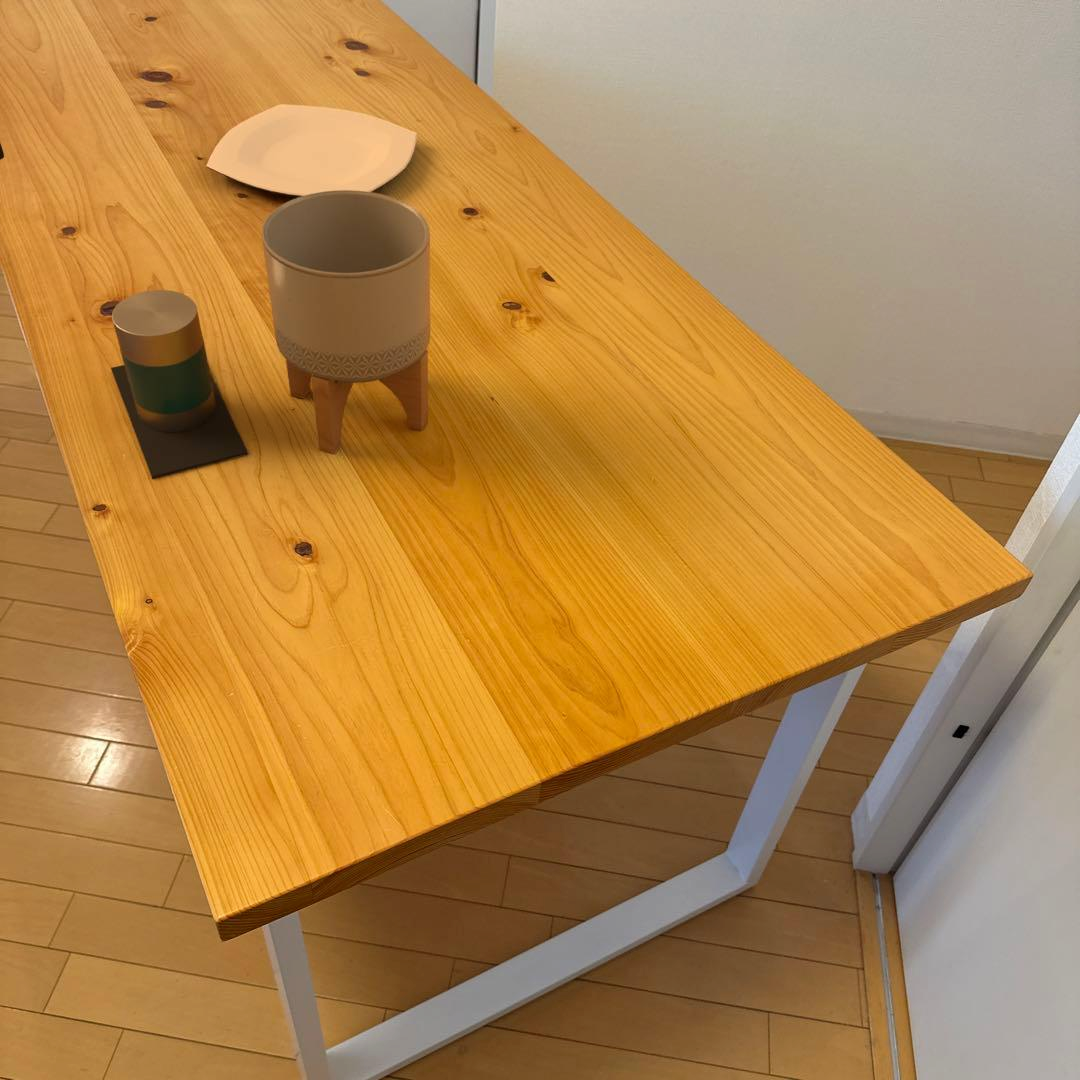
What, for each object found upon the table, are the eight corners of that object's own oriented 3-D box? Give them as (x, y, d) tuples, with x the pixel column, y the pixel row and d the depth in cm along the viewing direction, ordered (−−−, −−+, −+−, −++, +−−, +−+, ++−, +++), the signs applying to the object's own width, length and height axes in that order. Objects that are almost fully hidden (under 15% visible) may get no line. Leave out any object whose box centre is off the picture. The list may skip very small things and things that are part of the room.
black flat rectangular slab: (248, 454, 86) (247, 451, 86) (152, 479, 83) (151, 476, 83) (199, 351, 95) (198, 348, 95) (111, 370, 93) (110, 367, 92)
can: (121, 418, 88) (93, 320, 80) (169, 377, 92) (146, 281, 85) (185, 441, 86) (163, 344, 79) (231, 398, 91) (213, 303, 83)
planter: (326, 352, 97) (309, 177, 84) (451, 386, 95) (454, 210, 82) (259, 432, 88) (229, 250, 75) (395, 471, 86) (389, 290, 73)
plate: (182, 185, 117) (179, 168, 116) (275, 109, 133) (273, 93, 131) (366, 227, 114) (365, 210, 112) (439, 143, 129) (439, 128, 128)
